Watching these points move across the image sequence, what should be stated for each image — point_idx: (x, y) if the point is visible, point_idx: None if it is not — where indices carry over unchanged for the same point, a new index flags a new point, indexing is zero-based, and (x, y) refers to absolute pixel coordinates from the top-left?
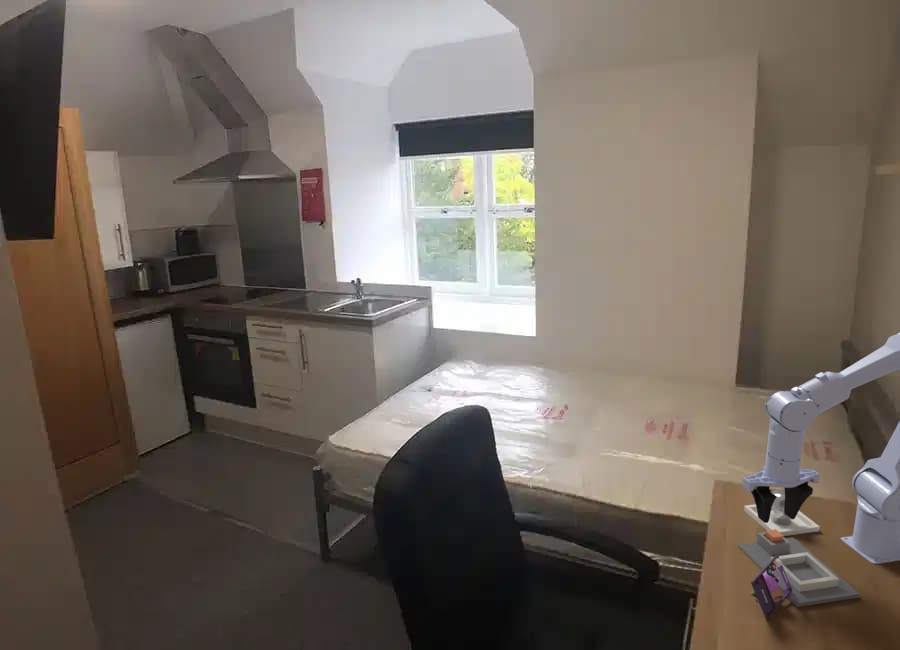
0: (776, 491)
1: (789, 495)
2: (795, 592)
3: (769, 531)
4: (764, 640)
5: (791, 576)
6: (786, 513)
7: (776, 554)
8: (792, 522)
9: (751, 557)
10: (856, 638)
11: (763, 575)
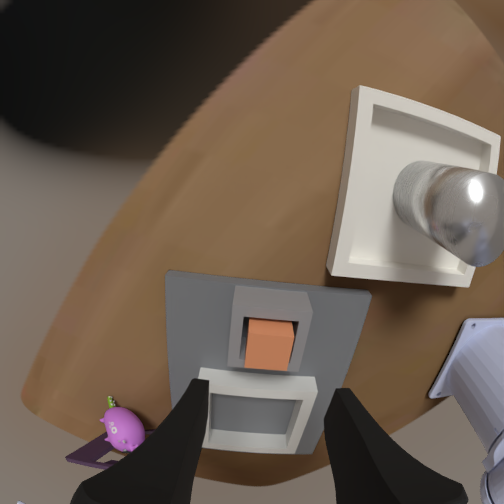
0: (487, 183)
1: (358, 481)
2: None
3: (259, 340)
4: None
5: None
6: (334, 401)
7: None
8: None
9: (168, 333)
10: (222, 479)
11: (111, 441)
